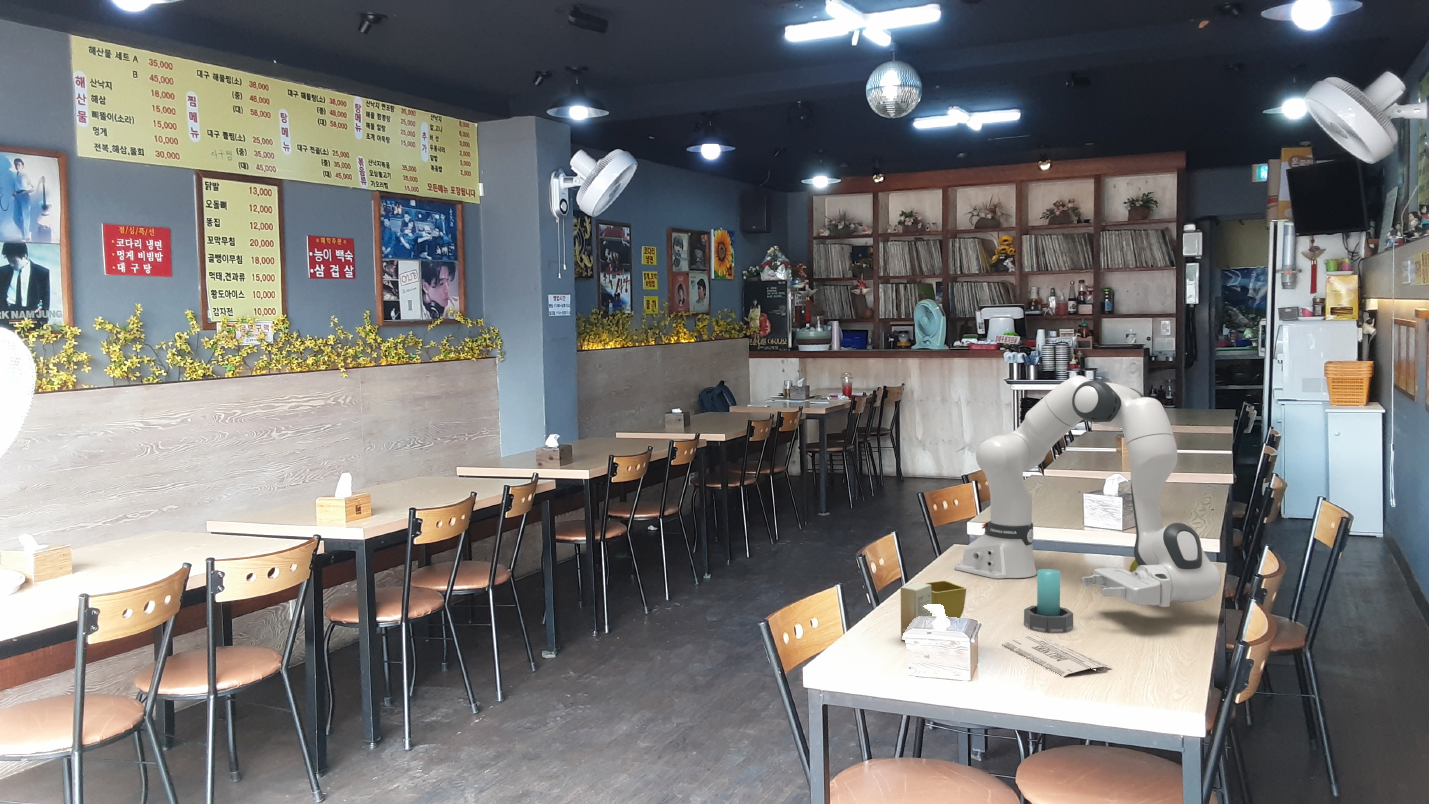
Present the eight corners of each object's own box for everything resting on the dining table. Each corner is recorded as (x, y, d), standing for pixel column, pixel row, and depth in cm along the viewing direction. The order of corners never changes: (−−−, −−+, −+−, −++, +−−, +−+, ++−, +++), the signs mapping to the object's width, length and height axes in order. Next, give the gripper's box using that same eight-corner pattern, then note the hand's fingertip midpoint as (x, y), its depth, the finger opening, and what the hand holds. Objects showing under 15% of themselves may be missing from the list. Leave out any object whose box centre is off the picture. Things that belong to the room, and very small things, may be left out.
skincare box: (916, 634, 235) (916, 580, 234) (932, 638, 232) (932, 584, 231) (899, 640, 230) (899, 586, 229) (915, 644, 227) (916, 589, 226)
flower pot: (913, 621, 245) (913, 583, 244) (944, 616, 248) (944, 579, 248) (935, 631, 237) (935, 592, 236) (967, 626, 240) (967, 588, 240)
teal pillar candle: (1033, 623, 239) (1033, 571, 238) (1042, 618, 243) (1043, 567, 242) (1054, 627, 236) (1054, 575, 235) (1063, 622, 240) (1064, 571, 239)
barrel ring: (1016, 627, 239) (1017, 612, 239) (1036, 617, 247) (1036, 602, 247) (1060, 635, 232) (1060, 620, 232) (1079, 625, 240) (1079, 610, 240)
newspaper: (1115, 673, 209) (1115, 661, 209) (1064, 687, 205) (1063, 674, 205) (1047, 640, 230) (1046, 629, 230) (999, 651, 227) (998, 640, 227)
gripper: (1127, 560, 251) (1072, 562, 250) (1173, 581, 231) (1113, 583, 230) (1127, 586, 252) (1072, 588, 250) (1172, 609, 231) (1113, 611, 230)
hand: (1092, 586), depth 240 cm, fingers open, 8 cm apart
